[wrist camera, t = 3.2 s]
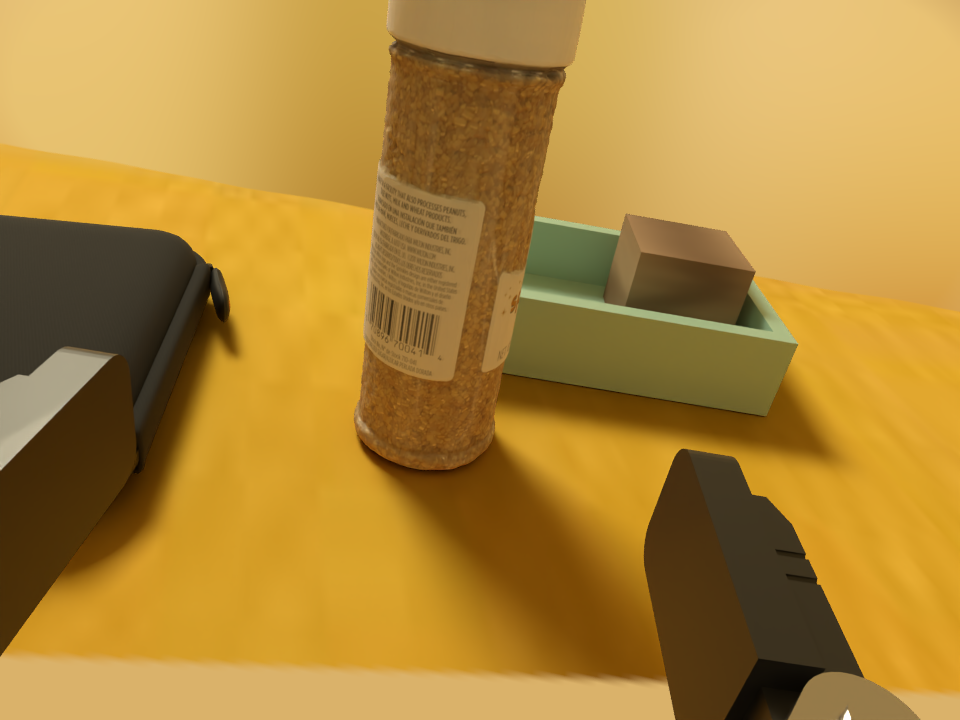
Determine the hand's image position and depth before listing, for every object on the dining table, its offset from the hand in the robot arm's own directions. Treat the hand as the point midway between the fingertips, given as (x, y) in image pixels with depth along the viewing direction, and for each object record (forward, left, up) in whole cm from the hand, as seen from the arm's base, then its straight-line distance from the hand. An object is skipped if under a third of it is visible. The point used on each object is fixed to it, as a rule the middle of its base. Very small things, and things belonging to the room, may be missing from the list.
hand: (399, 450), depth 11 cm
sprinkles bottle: (0, +10, -7) cm, 13 cm away
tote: (+6, +19, -7) cm, 21 cm away
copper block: (+9, +20, -7) cm, 23 cm away
